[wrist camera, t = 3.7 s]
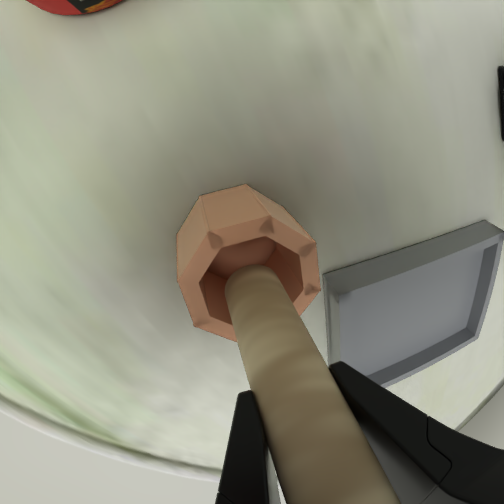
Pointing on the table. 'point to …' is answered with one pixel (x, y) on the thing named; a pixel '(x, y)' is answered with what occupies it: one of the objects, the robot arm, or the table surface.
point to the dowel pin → (300, 400)
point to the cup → (241, 253)
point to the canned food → (73, 6)
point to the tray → (412, 303)
